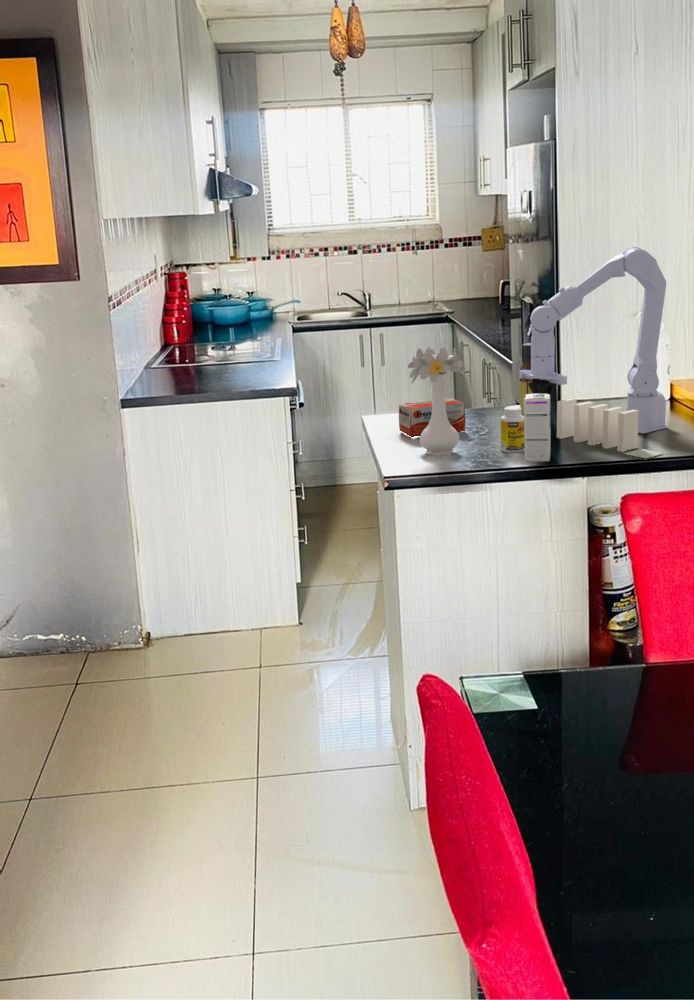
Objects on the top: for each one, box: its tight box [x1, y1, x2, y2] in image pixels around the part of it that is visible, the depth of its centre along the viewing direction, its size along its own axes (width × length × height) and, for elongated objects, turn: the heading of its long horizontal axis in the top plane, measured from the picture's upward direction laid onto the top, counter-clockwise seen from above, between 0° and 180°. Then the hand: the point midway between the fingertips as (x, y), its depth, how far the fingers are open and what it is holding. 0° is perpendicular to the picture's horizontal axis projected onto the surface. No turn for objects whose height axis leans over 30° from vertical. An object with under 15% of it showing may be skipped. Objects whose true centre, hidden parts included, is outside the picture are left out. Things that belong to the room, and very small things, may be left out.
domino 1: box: [556, 397, 577, 440], centre depth 258 cm, size 2×5×9 cm, turn 126°
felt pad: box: [623, 448, 664, 458], centre depth 239 cm, size 6×6×1 cm
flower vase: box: [407, 346, 468, 457], centre depth 246 cm, size 13×18×25 cm
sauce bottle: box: [519, 342, 533, 416], centre depth 276 cm, size 6×6×20 cm
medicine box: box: [398, 397, 466, 437], centre depth 268 cm, size 15×8×8 cm, turn 110°
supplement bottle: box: [500, 405, 525, 454], centre depth 247 cm, size 6×6×10 cm
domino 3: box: [587, 403, 609, 446], centre depth 250 cm, size 2×5×9 cm, turn 125°
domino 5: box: [616, 410, 639, 453], centre depth 243 cm, size 2×5×9 cm, turn 125°
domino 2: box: [573, 401, 595, 443], centre depth 254 cm, size 2×5×9 cm, turn 125°
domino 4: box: [601, 406, 624, 449], centre depth 246 cm, size 2×5×9 cm, turn 125°
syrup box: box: [524, 393, 552, 462], centre depth 238 cm, size 6×6×14 cm
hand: (542, 409), depth 264 cm, fingers closed
